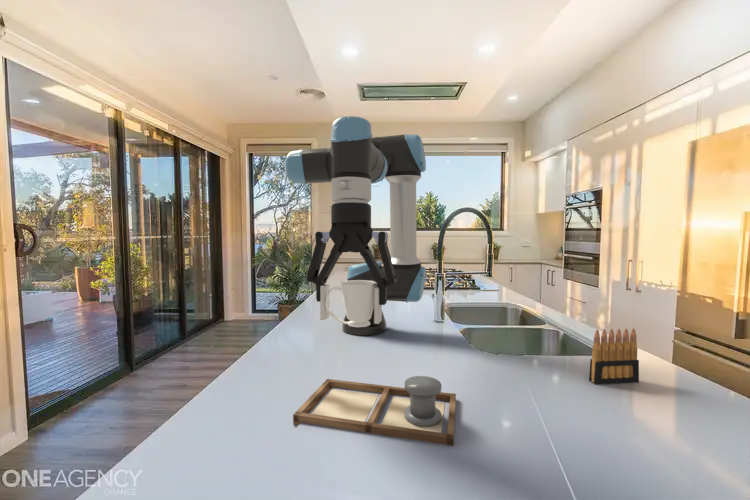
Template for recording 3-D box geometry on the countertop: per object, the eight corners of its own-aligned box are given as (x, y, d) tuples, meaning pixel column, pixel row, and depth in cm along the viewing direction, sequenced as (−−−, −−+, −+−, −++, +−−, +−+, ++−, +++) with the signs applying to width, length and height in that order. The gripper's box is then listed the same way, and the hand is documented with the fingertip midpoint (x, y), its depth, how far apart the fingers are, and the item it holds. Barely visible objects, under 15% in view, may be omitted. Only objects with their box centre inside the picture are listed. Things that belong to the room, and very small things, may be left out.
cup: (374, 329, 61) (375, 285, 60) (320, 327, 62) (320, 283, 62) (379, 320, 68) (379, 280, 67) (330, 318, 69) (330, 279, 69)
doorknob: (407, 405, 64) (407, 374, 64) (442, 410, 62) (442, 378, 62) (401, 424, 58) (401, 389, 57) (439, 429, 56) (440, 393, 56)
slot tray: (327, 387, 73) (327, 378, 73) (455, 402, 66) (455, 393, 66) (293, 424, 59) (293, 414, 59) (453, 449, 52) (453, 438, 52)
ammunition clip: (594, 384, 74) (596, 330, 74) (588, 381, 76) (590, 328, 76) (639, 382, 76) (641, 329, 75) (632, 379, 78) (633, 327, 77)
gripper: (287, 202, 63) (287, 320, 64) (407, 199, 58) (406, 329, 58) (305, 206, 71) (305, 312, 71) (413, 203, 65) (412, 319, 66)
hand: (350, 320), depth 65 cm, fingers closed on cup, 10 cm apart
